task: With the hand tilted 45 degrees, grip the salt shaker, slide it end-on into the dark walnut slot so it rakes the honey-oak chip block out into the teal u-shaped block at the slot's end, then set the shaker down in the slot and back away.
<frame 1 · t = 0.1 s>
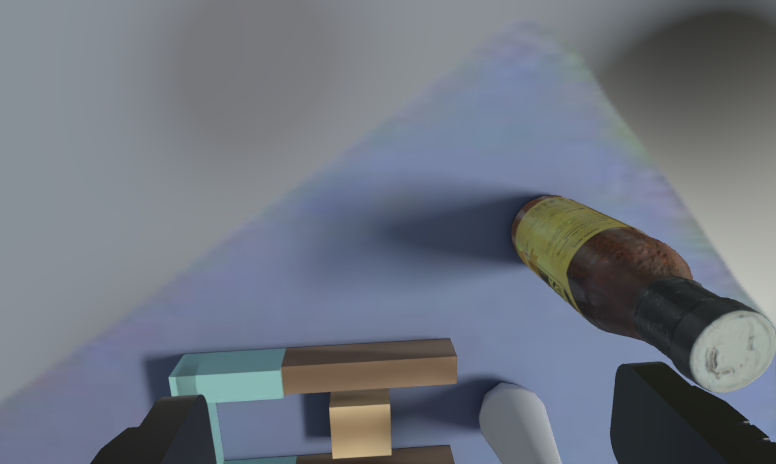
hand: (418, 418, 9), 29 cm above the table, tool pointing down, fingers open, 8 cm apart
slot: (372, 410, 43), on the table
sauce bottle: (546, 229, 40), on the table
chip block: (360, 409, 43), on the table
teal u-shaped block: (247, 419, 43), on the table
salt shaker: (503, 400, 44), on the table
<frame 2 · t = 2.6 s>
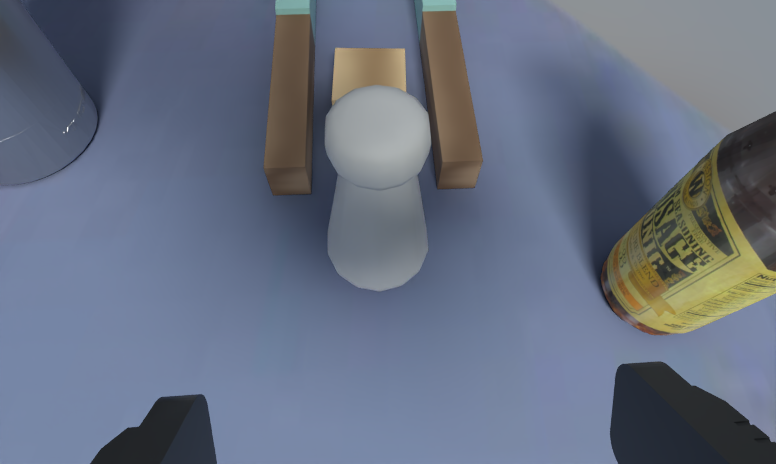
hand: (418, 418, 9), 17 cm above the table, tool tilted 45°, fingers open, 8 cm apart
slot: (370, 111, 35), on the table
sauce bottle: (645, 294, 29), on the table
chip block: (370, 104, 36), on the table
teal u-shaped block: (365, 12, 41), on the table
salt shaker: (378, 261, 30), on the table
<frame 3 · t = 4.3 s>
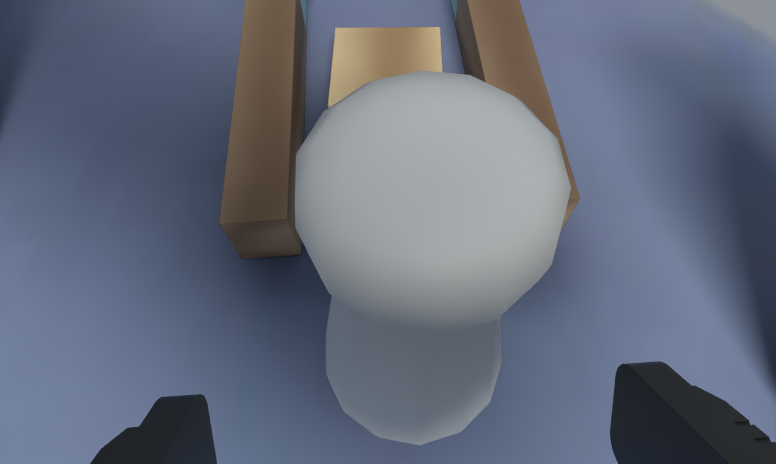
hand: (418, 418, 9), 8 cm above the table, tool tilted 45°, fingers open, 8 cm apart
slot: (389, 121, 24), on the table
chip block: (388, 110, 25), on the table
salt shaker: (410, 367, 18), on the table
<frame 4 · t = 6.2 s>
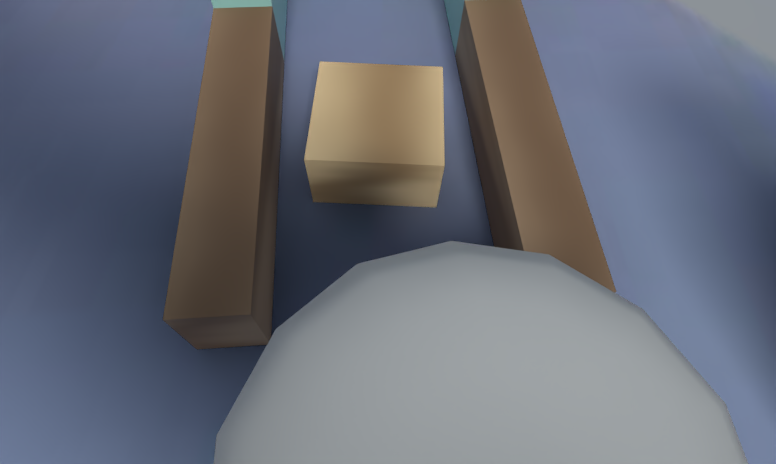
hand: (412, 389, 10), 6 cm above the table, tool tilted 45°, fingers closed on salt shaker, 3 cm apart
slot: (379, 173, 20), on the table
chip block: (378, 159, 21), on the table
teal u-shaped block: (366, 6, 26), on the table
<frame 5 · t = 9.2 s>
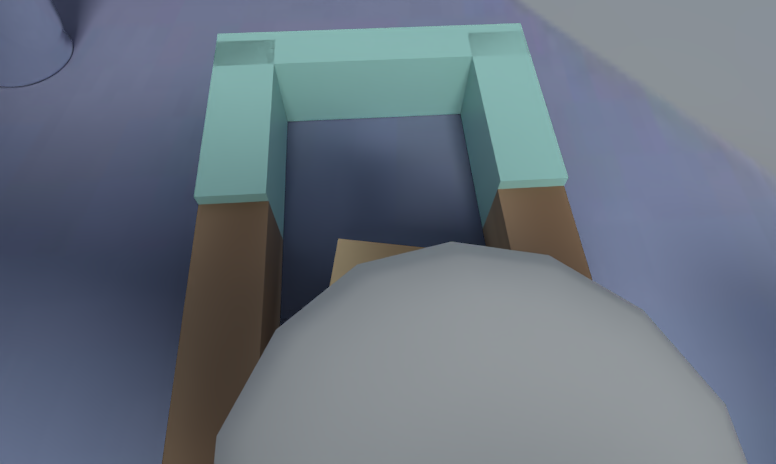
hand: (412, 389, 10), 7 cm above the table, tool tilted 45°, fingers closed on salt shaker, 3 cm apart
slot: (397, 409, 17), on the table
chip block: (398, 340, 18), on the table, touching salt shaker
teal u-shaped block: (377, 158, 22), on the table
cup with straw: (27, 56, 25), on the table
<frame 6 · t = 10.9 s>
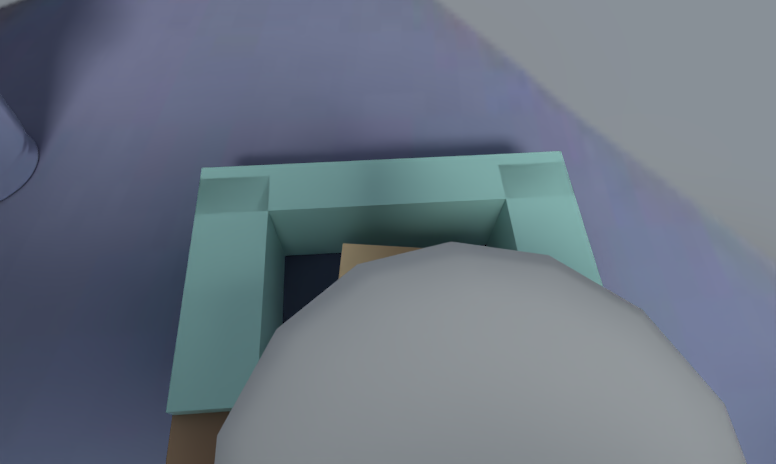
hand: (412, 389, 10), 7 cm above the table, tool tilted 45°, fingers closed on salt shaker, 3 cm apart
chip block: (406, 341, 18), on the table
teal u-shaped block: (391, 307, 19), on the table
when the fingers open (7 cm above the table, at t = 11.0 s): salt shaker drops 1 cm, on the table.
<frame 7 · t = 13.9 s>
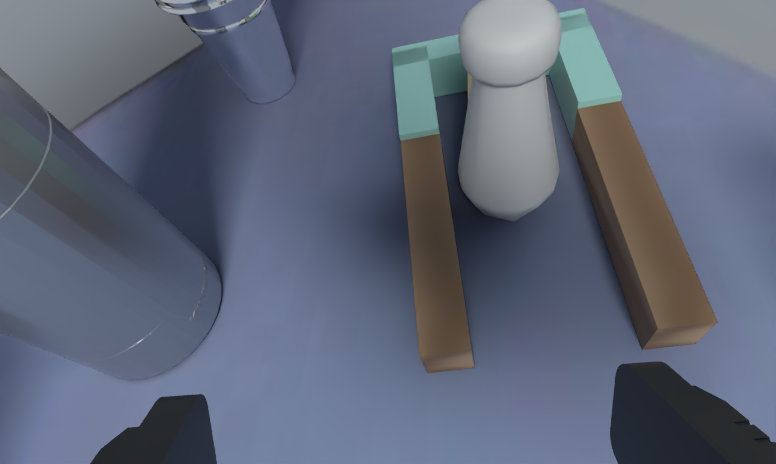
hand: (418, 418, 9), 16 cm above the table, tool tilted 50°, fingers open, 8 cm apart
slot: (528, 242, 29), on the table
teal u-shaped block: (496, 110, 34), on the table
salt shaker: (507, 195, 31), on the table
cup with straw: (269, 85, 42), on the table
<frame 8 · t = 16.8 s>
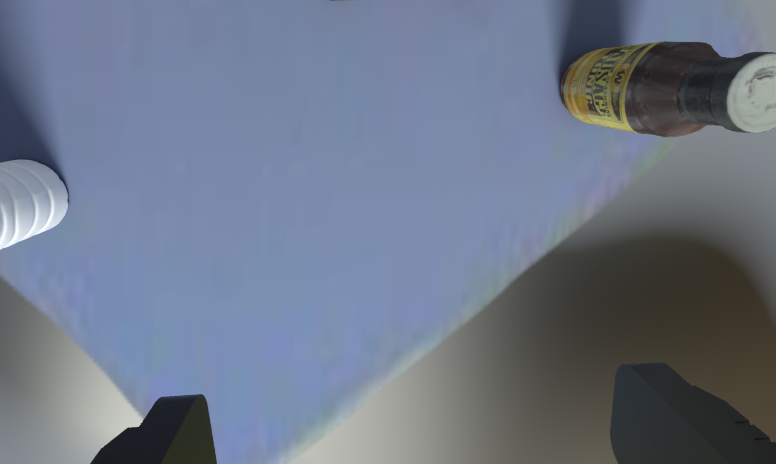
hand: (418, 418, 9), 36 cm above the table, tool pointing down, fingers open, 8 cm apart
sauce bottle: (588, 89, 44), on the table
water bottle: (32, 182, 43), on the table
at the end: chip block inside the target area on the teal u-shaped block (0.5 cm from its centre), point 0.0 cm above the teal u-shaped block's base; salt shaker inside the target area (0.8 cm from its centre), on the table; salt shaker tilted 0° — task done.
